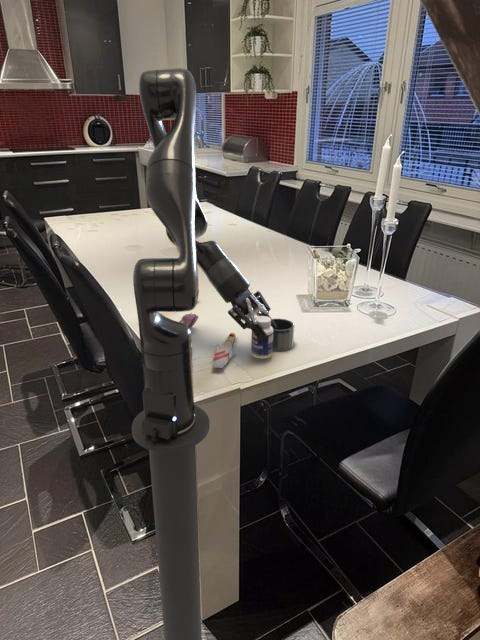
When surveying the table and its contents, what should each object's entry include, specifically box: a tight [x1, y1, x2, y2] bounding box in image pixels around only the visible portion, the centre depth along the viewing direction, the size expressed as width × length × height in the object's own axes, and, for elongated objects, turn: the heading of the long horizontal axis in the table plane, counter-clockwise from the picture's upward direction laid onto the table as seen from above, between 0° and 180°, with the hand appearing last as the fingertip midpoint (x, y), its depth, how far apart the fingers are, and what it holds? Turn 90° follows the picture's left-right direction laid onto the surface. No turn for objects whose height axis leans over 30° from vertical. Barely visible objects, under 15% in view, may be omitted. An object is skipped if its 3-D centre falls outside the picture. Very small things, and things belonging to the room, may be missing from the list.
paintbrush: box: [211, 332, 236, 369], centre depth 120 cm, size 4×3×20 cm
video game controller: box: [178, 311, 199, 331], centre depth 131 cm, size 10×5×7 cm, turn 159°
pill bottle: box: [250, 316, 273, 359], centre depth 116 cm, size 5×5×10 cm
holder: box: [271, 318, 295, 352], centre depth 125 cm, size 8×8×6 cm
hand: (268, 333), depth 115 cm, fingers closed on pill bottle, 5 cm apart
